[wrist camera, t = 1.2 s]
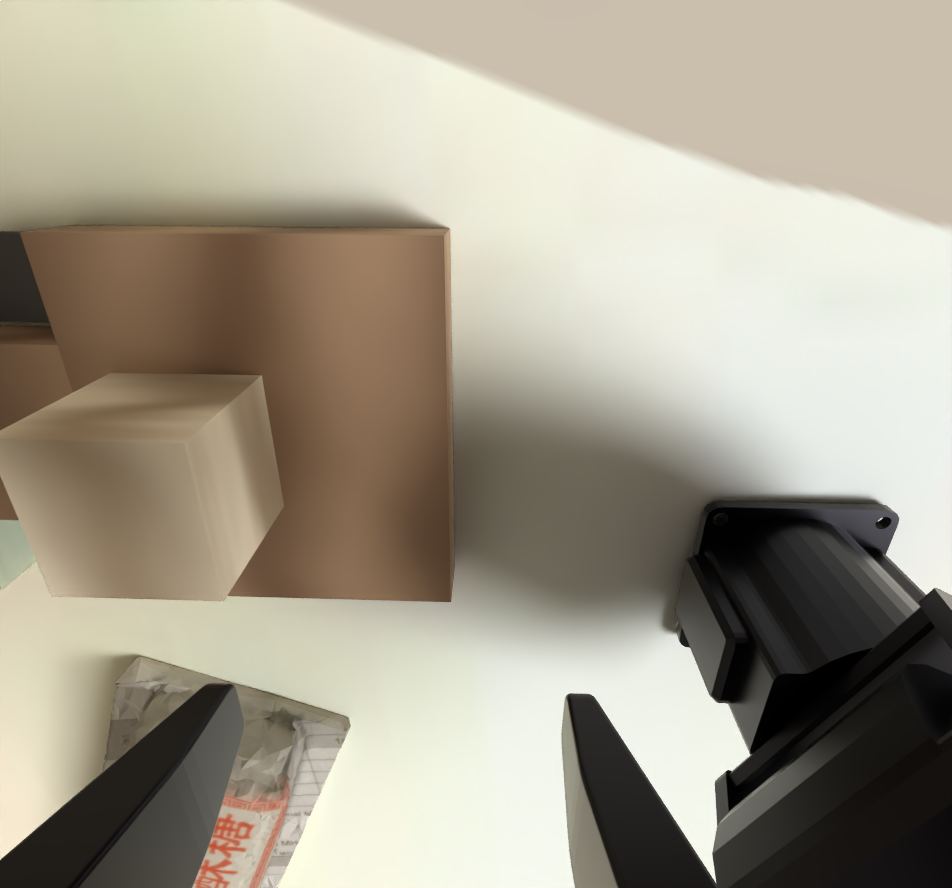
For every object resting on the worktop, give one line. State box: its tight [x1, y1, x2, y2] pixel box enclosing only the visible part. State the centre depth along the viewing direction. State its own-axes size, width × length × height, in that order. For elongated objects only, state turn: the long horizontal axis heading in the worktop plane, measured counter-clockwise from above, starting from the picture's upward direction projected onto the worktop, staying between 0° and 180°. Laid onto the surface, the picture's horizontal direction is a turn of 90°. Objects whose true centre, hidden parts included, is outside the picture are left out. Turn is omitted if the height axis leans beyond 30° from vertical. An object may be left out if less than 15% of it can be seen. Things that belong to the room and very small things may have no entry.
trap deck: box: [0, 225, 455, 602], centre depth 17 cm, size 23×12×4 cm, turn 90°
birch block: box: [0, 373, 284, 601], centre depth 15 cm, size 4×4×4 cm
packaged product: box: [103, 656, 351, 888], centre depth 26 cm, size 18×5×10 cm
